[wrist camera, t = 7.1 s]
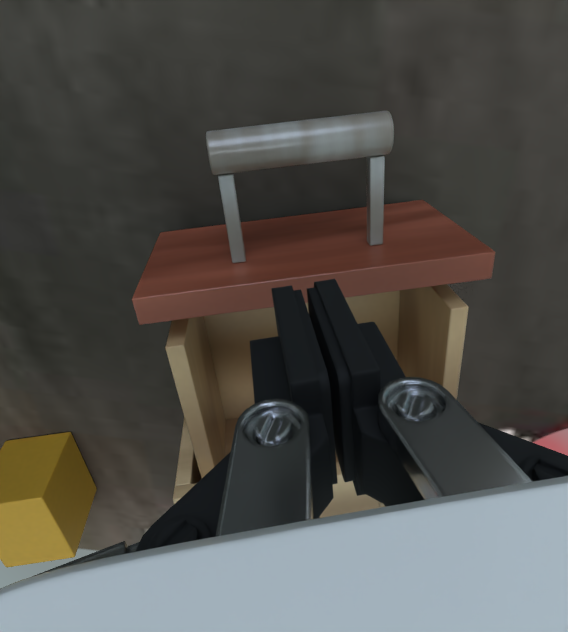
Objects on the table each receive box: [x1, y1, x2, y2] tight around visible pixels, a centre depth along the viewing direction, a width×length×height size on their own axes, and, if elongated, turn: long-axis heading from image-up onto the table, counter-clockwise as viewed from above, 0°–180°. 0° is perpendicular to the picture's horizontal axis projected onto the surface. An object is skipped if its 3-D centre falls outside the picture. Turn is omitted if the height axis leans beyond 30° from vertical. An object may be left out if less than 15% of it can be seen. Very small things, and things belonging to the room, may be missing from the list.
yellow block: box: [0, 432, 97, 567], centre depth 30 cm, size 6×4×6 cm
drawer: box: [132, 111, 495, 479], centre depth 23 cm, size 19×14×8 cm
